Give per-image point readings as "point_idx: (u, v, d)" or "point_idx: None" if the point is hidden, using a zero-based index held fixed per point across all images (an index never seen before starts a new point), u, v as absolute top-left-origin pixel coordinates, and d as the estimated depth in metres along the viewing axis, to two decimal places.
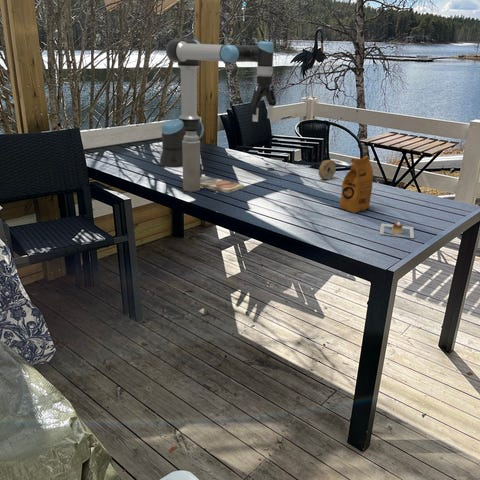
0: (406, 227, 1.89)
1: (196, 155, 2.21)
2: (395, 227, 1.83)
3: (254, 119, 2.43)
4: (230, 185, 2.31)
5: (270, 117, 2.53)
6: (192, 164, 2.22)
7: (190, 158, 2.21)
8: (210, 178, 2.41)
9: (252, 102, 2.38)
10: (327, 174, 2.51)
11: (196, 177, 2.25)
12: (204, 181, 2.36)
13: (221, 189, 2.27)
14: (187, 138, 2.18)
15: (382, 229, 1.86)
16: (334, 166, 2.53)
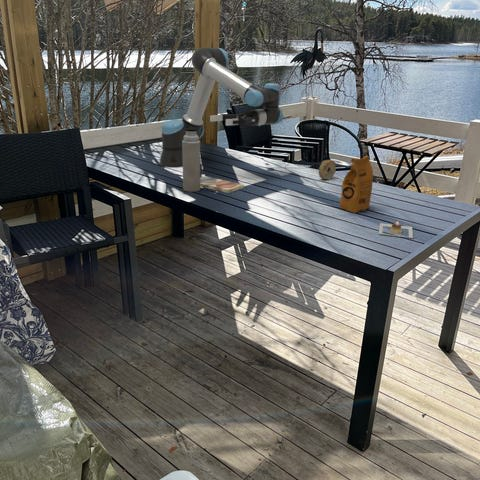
0: (405, 227, 1.89)
1: (196, 155, 2.21)
2: (394, 227, 1.83)
3: (228, 122, 2.24)
4: (230, 185, 2.31)
5: (212, 119, 2.35)
6: (192, 164, 2.22)
7: (190, 158, 2.21)
8: (210, 178, 2.41)
9: (246, 121, 2.27)
10: (327, 174, 2.51)
11: (196, 177, 2.25)
12: (204, 181, 2.36)
13: (221, 189, 2.27)
14: (187, 138, 2.18)
15: (381, 229, 1.86)
16: (334, 166, 2.53)
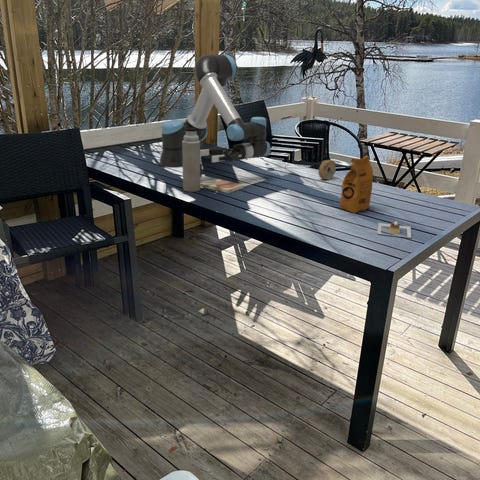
0: (403, 227, 1.89)
1: (196, 155, 2.21)
2: (392, 227, 1.83)
3: (214, 159, 2.23)
4: (230, 185, 2.31)
5: None
6: (192, 164, 2.22)
7: (190, 158, 2.21)
8: (210, 178, 2.41)
9: (232, 157, 2.25)
10: (327, 174, 2.51)
11: (196, 177, 2.25)
12: (204, 181, 2.36)
13: (221, 189, 2.27)
14: (187, 138, 2.18)
15: (379, 229, 1.86)
16: (334, 166, 2.53)
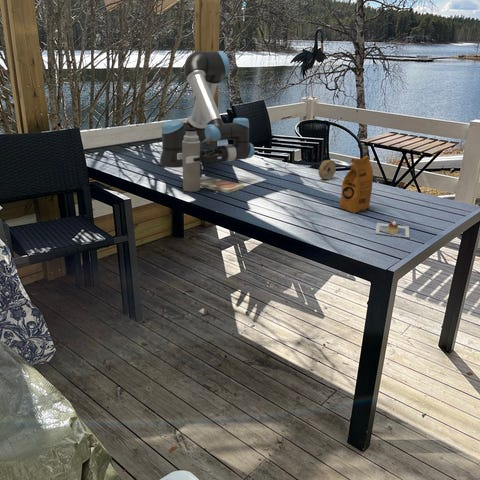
0: (402, 226, 1.89)
1: (196, 155, 2.21)
2: (391, 226, 1.84)
3: (188, 159, 2.19)
4: (230, 185, 2.31)
5: (179, 157, 2.25)
6: (192, 164, 2.22)
7: None
8: (210, 178, 2.41)
9: (207, 158, 2.21)
10: (327, 174, 2.51)
11: (196, 177, 2.25)
12: (204, 181, 2.36)
13: (221, 189, 2.27)
14: (187, 138, 2.18)
15: (378, 228, 1.87)
16: (334, 166, 2.53)
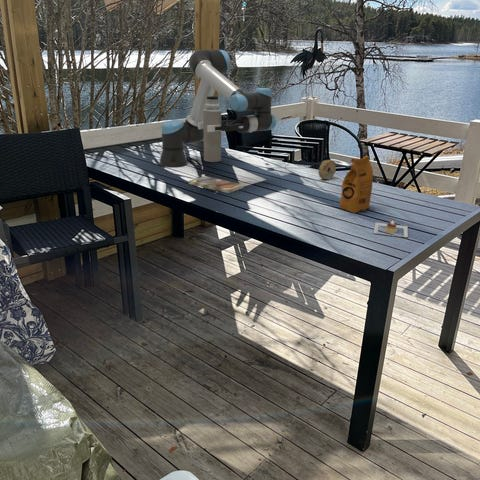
0: (400, 226, 1.89)
1: (217, 123, 2.17)
2: (389, 226, 1.84)
3: (210, 128, 2.15)
4: (230, 185, 2.31)
5: (200, 127, 2.22)
6: (213, 133, 2.18)
7: None
8: (210, 178, 2.41)
9: (229, 127, 2.17)
10: (327, 174, 2.51)
11: (217, 146, 2.21)
12: (204, 181, 2.36)
13: (221, 189, 2.27)
14: (208, 106, 2.14)
15: (376, 228, 1.87)
16: (334, 166, 2.53)
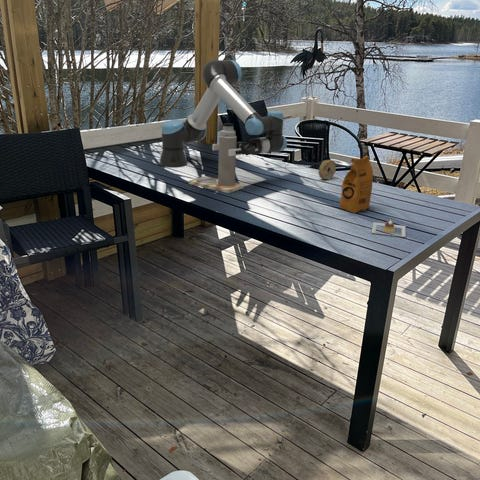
0: (398, 226, 1.90)
1: None
2: (387, 226, 1.84)
3: (231, 152, 2.20)
4: None
5: (214, 148, 2.30)
6: (228, 159, 2.24)
7: (227, 153, 2.23)
8: (210, 178, 2.41)
9: (249, 151, 2.22)
10: (327, 174, 2.51)
11: (232, 171, 2.27)
12: (204, 181, 2.36)
13: (221, 189, 2.27)
14: (224, 133, 2.21)
15: (374, 228, 1.87)
16: (334, 166, 2.53)
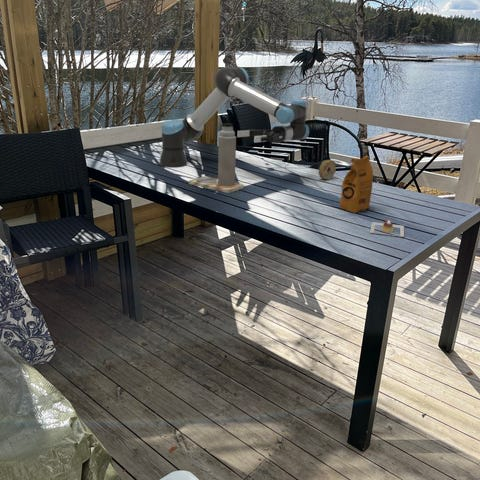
0: (397, 226, 1.90)
1: (232, 150, 2.24)
2: (385, 226, 1.84)
3: (256, 139, 2.25)
4: None
5: (239, 135, 2.36)
6: (228, 159, 2.24)
7: (227, 153, 2.23)
8: (210, 178, 2.41)
9: (274, 138, 2.28)
10: (327, 174, 2.51)
11: (231, 171, 2.27)
12: (204, 181, 2.36)
13: (221, 189, 2.27)
14: (224, 133, 2.21)
15: (373, 228, 1.87)
16: (334, 166, 2.53)
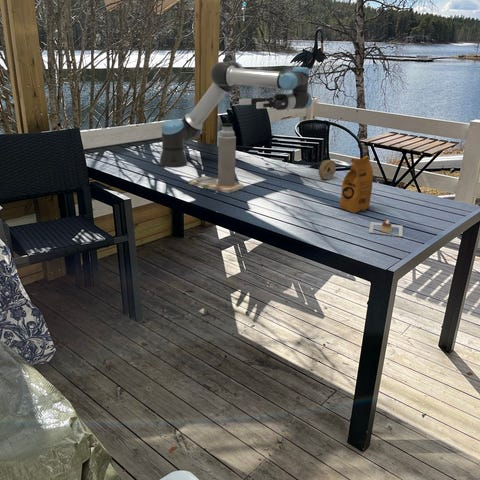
0: (395, 226, 1.90)
1: (232, 150, 2.23)
2: (384, 225, 1.84)
3: (259, 105, 2.22)
4: None
5: (241, 103, 2.32)
6: (228, 159, 2.24)
7: (227, 153, 2.23)
8: (210, 178, 2.41)
9: (276, 104, 2.24)
10: (327, 174, 2.51)
11: (231, 172, 2.27)
12: (204, 181, 2.36)
13: (221, 189, 2.27)
14: (224, 133, 2.21)
15: (371, 227, 1.87)
16: (334, 166, 2.53)
